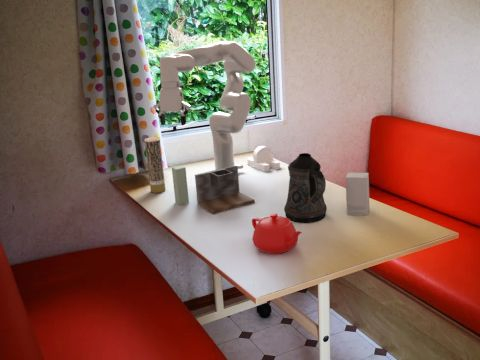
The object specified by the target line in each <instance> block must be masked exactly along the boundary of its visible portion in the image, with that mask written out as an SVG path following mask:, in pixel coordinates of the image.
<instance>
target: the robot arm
mask: <svg viewBox="0 0 480 360" xmlns="http://www.w3.org/2000/svg"><path fill="white" fill-rule="evenodd" d="M222 61H223V64H222V65H223V68H224V71H225V73H226V84H225V87H224V90H223V92H222V93H221V97H220V100H219V107H220V109H222V110H223V111H216V112H214V113H212V114H210V117H209V122H208V123H209V128H210V131H211V136H212V142H213V143H212V144H213V145H212V146H213V147H212V148H213V157H214V170H218V169H222V168H226V167H231V166H235V165H236V166H238V170H241V169H244V165H243V164H235V157H234V156H235V155H234V154H235V153H234V142H233V137H232V134H238V133H240V132H242V130H243V128H244V125H245V123H246V120H247V118H248V115H249V114H250V110H251V106H252V100H251V97H250V95H249V94H248V93H246V92H243V90H244V86H245V82H244V78H243V76H242V74H250V73H252V72H253V71H254V70H255V68H256V60H255V58H254V56H253V55H252V54H251V53H250V52H248V51H247V50H246V49H245V47H243V46H242V45H241V44H240V43H238V42H236V41H218V42H215V43H211V44H207V45H204V46H199V47H195V48H190V49H186V50H181V51H177V52H174V53H171V54H168V55H164V56H161V57H160V58H159V68H160V70H159V71H160V81H161V84H160V85H161V88H160V92H159V101H158V103H156V104H154V105H153V109H154V110H155V113H156V114H157V115H158V116H159V123H160V125H162V126H163V125H165V124H166V115H165V113H179V114H180V115H181V116H180V125H181V126H185V125H186V123H187V115H188V114H189V112H190V109H191V108H192V105H190V104H189V103H187V102H185V99H184V93H183V90H182V86H183V83H182V82H180V78H179V73H189V72H191V71H192V70H193V69H194V68H195V67H205V66H209V65H212V64H215V63H219V62H222Z"/></svg>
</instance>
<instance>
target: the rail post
mask: <svg viewBox="0 0 480 360" xmlns="http://www.w3.org/2000/svg"><path fill="white" fill-rule="evenodd" d="M171 173H172V183H173V190H174V191H173V192H174V200H175V201H174V203H175V204H177V205H179V206H182V205H186V204H189V203H190V202H189V200H190V198H189V189H188V181H187V170H186V166H183V165H182V164H181V165H176V166H171Z"/></svg>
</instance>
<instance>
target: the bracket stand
mask: <svg viewBox="0 0 480 360" xmlns="http://www.w3.org/2000/svg"><path fill="white" fill-rule="evenodd" d="M234 165H235V166H231V167H226V168H222V169H218V170H215V169H214V170H210V171H206V172H202V173H201V172H200V173H196V174H194V180H195V181H194V182H195V189H196V190H195V191H196V201H197V202H196V203H197V206H198V207H201V208H202V209H204V210H206V211H207V212H209V213H210V214H213V215H216V214H218V213H222V212H225V211H230V210H234V209H236V208H240V207H244V206H247V205H252V204H255V203H256V202H255V200H256V199H255V198H252V197H250V196H249V195H246V194H244V193H242V192H240V182H239V169H238V166H236V165H237V164H234Z"/></svg>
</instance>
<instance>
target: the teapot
mask: <svg viewBox="0 0 480 360" xmlns="http://www.w3.org/2000/svg"><path fill="white" fill-rule="evenodd" d="M251 224H252V227H253V234H252V242H253V246H254V247H255V248H257V249H258V250H259V251H261V252H263V253H267V254H271V255H272V254H273V255H276V254H283V253H285V252H288V251H290V250H292V249H293V248H294V247H296V245H298V241H299V236H300V235H301V234H303V232H302V231H300V230H296V228H295V227H294V225H293V222H292V221H290V219H288V218H286V216H279V215H278V213H270V214H269V216H266V217H263V218H260V217H253V218H252V219H251Z"/></svg>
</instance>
